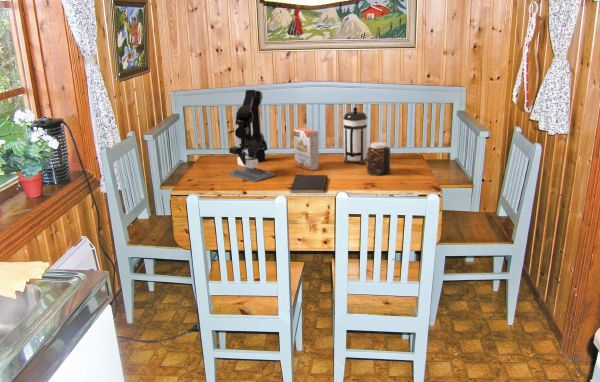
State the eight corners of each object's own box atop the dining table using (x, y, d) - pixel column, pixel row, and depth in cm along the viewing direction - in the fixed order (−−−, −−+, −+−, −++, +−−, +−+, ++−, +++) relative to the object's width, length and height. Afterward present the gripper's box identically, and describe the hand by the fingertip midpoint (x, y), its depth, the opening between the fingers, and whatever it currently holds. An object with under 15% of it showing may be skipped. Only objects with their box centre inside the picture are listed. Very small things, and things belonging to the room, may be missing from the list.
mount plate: (228, 174, 293) (227, 169, 292) (249, 168, 302) (248, 164, 301) (254, 182, 278) (253, 176, 277) (275, 175, 287) (274, 170, 286)
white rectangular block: (237, 164, 293) (237, 156, 292) (243, 163, 296) (243, 155, 294) (252, 168, 285) (251, 160, 283) (258, 166, 287) (257, 158, 286)
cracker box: (294, 166, 303) (292, 128, 297) (303, 164, 307) (302, 126, 300) (310, 171, 293) (309, 132, 286) (319, 169, 296) (318, 130, 290)
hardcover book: (290, 193, 260) (289, 189, 260) (295, 179, 282) (295, 175, 281) (324, 193, 259) (324, 189, 258) (327, 179, 280) (327, 174, 280)
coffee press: (335, 160, 312) (334, 107, 302) (360, 156, 318) (360, 104, 309) (350, 167, 297) (350, 111, 287) (376, 163, 303) (377, 108, 294)
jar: (389, 176, 280) (389, 146, 276) (366, 175, 282) (366, 146, 278) (390, 169, 291) (391, 141, 286) (368, 169, 293) (368, 141, 289)
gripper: (241, 139, 273) (243, 170, 278) (270, 133, 286) (271, 162, 291) (227, 136, 281) (229, 166, 286) (255, 130, 293) (257, 159, 298)
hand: (247, 163), depth 290 cm, fingers closed on white rectangular block, 4 cm apart
